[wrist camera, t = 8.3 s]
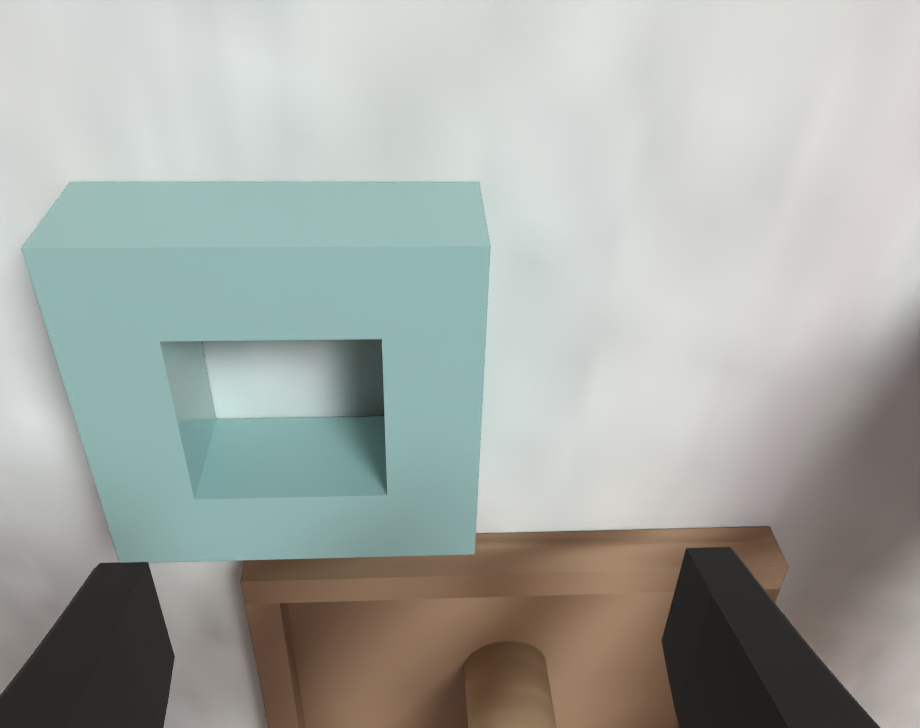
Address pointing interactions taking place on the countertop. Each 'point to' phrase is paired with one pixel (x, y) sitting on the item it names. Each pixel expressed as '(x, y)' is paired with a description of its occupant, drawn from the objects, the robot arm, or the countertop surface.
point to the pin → (508, 687)
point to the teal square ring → (270, 318)
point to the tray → (480, 625)
